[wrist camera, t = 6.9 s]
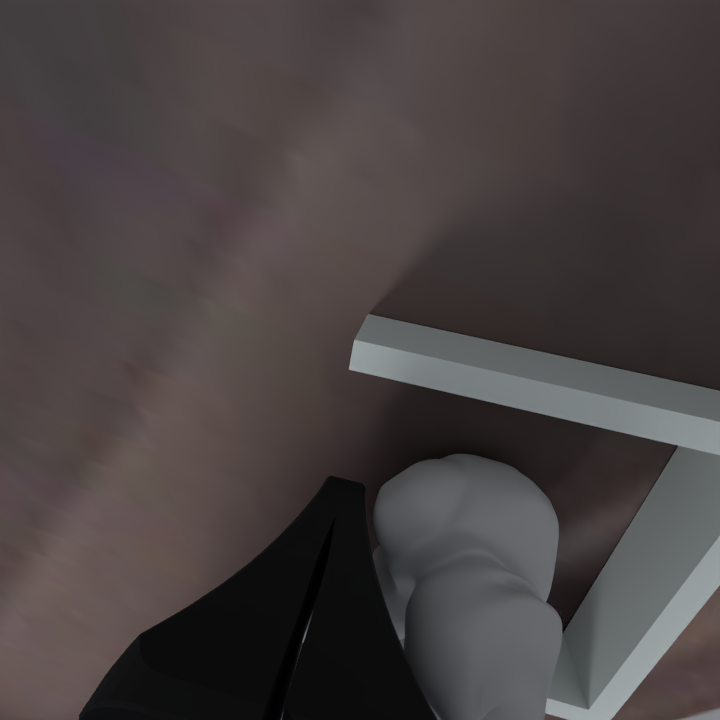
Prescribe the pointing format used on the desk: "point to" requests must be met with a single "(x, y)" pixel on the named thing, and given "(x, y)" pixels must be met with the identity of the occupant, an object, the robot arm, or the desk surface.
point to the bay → (651, 523)
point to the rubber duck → (471, 585)
